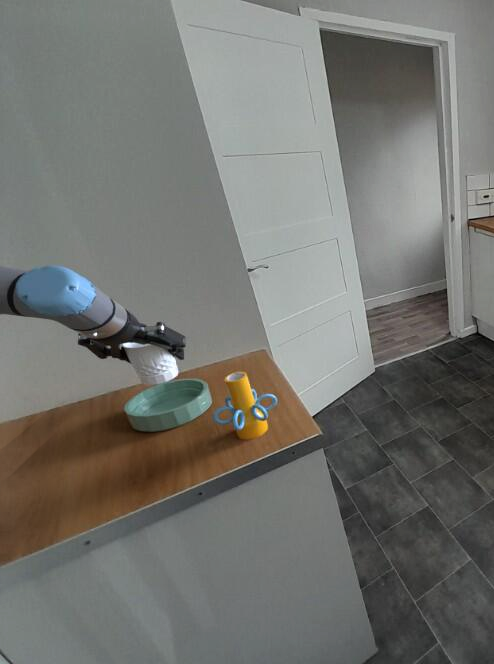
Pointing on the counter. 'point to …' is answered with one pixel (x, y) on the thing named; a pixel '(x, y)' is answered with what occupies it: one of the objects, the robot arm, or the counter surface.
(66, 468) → the counter surface
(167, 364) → the white cup
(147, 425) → the green bowl
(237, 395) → the yellow vase
